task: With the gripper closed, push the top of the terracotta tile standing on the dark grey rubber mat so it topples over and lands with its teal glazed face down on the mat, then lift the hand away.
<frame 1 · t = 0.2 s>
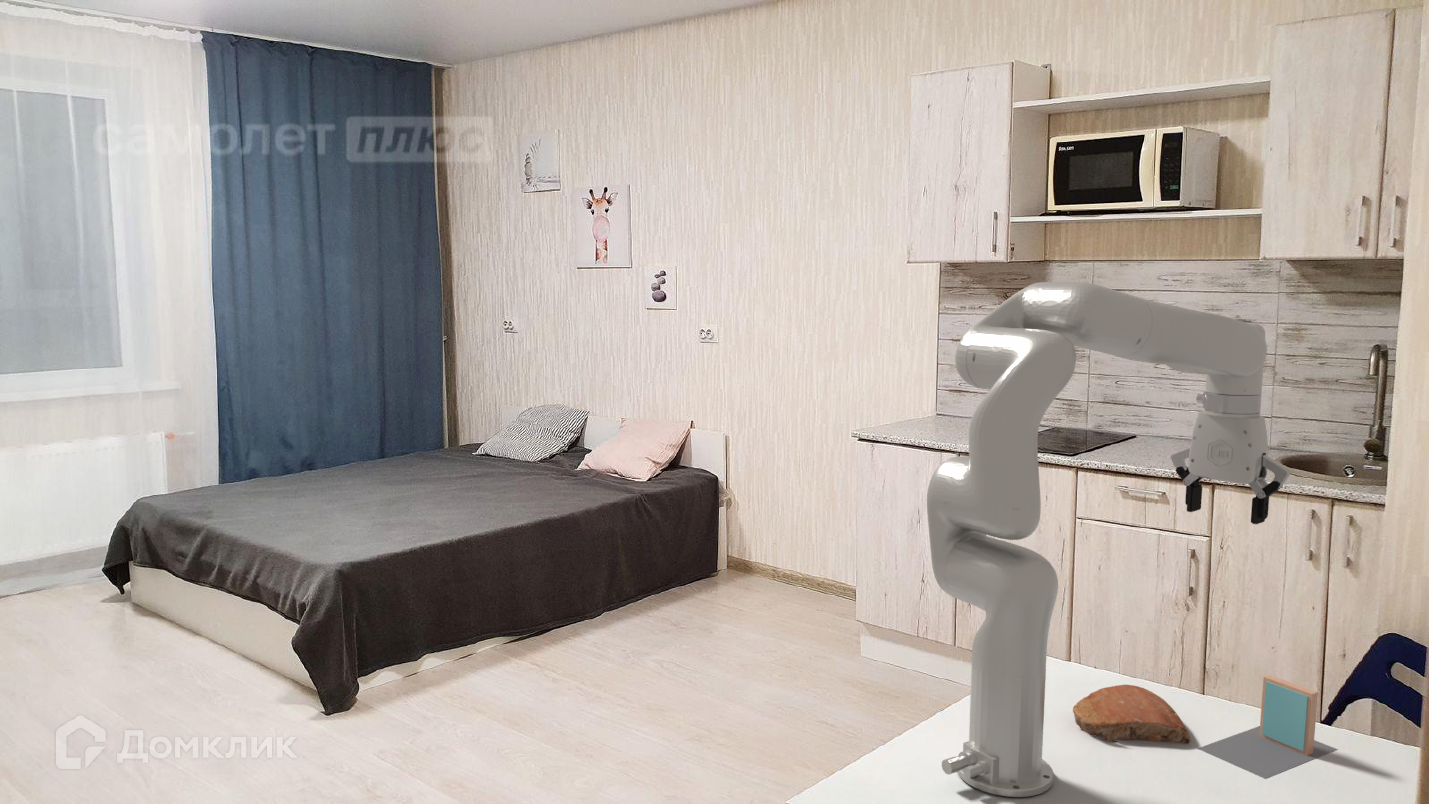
hand: (1225, 516, 155), 30 cm above the table, tool pointing down, fingers open, 9 cm apart
tile: (1285, 744, 146), resting on mat
ceramic shard: (1120, 727, 154), on the table
mat: (1267, 751, 145), on the table
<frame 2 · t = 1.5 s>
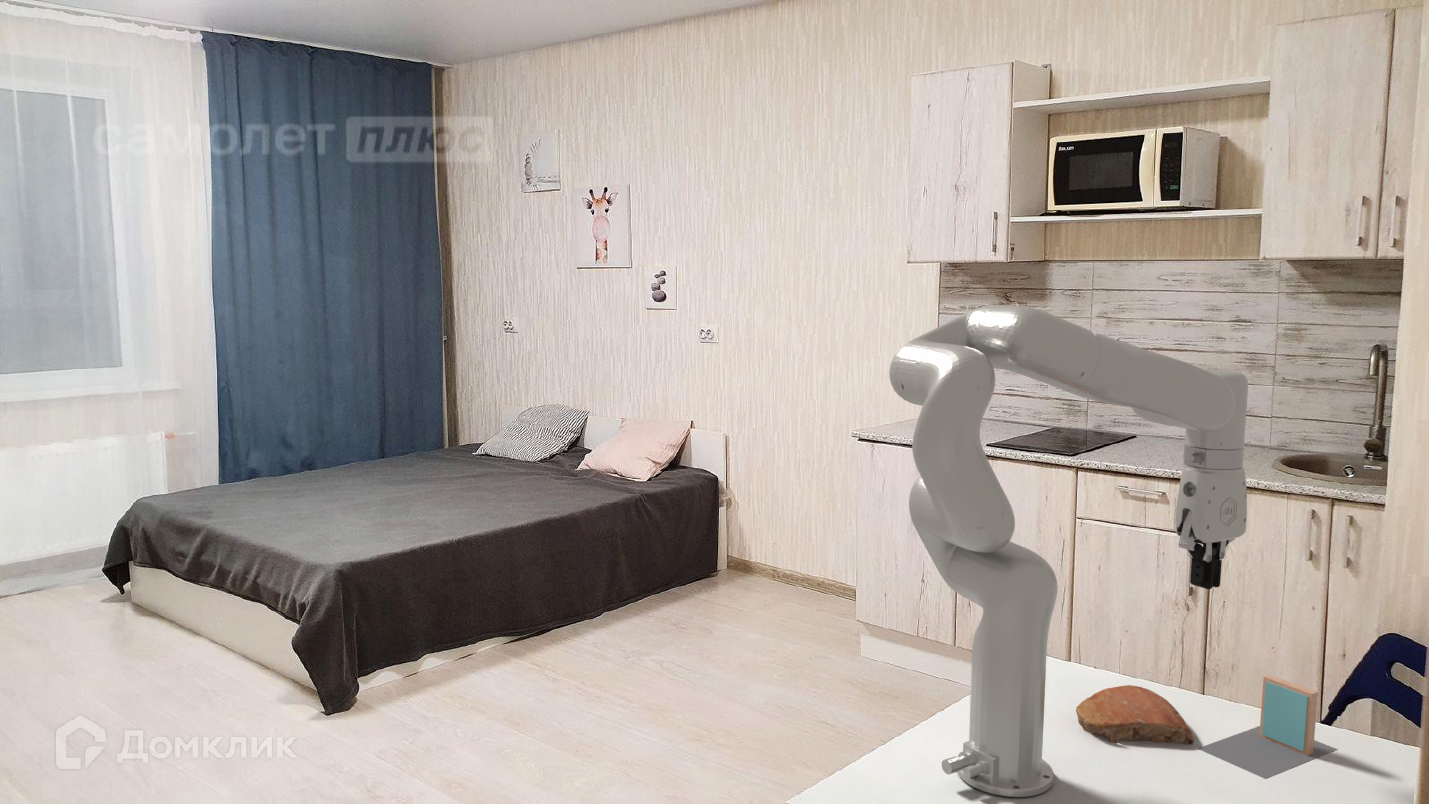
hand: (1204, 585, 146), 23 cm above the table, tool pointing down, fingers closed
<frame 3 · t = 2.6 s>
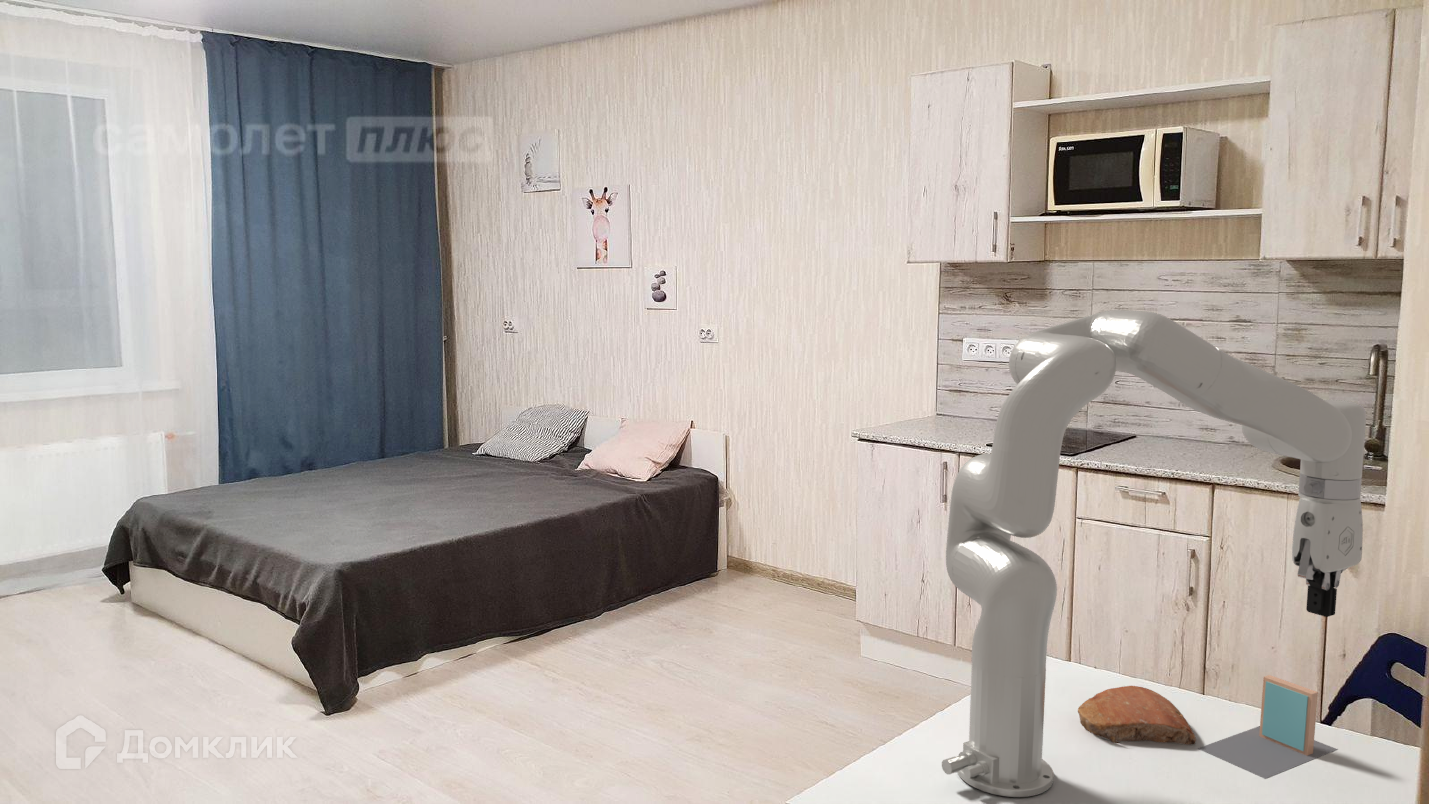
hand: (1320, 613, 147), 19 cm above the table, tool pointing down, fingers closed
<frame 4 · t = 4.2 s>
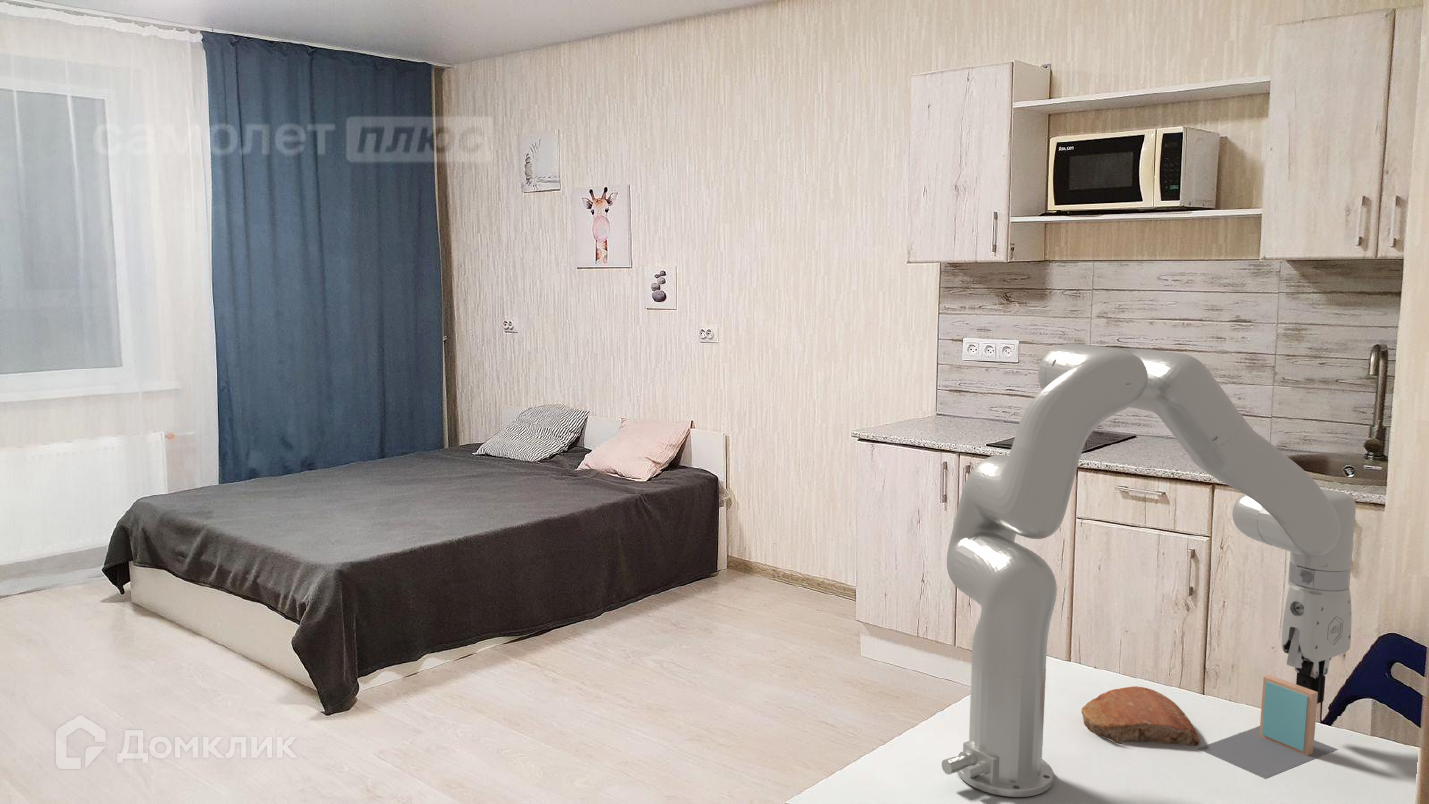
hand: (1309, 699, 148), 6 cm above the table, tool pointing down, fingers closed
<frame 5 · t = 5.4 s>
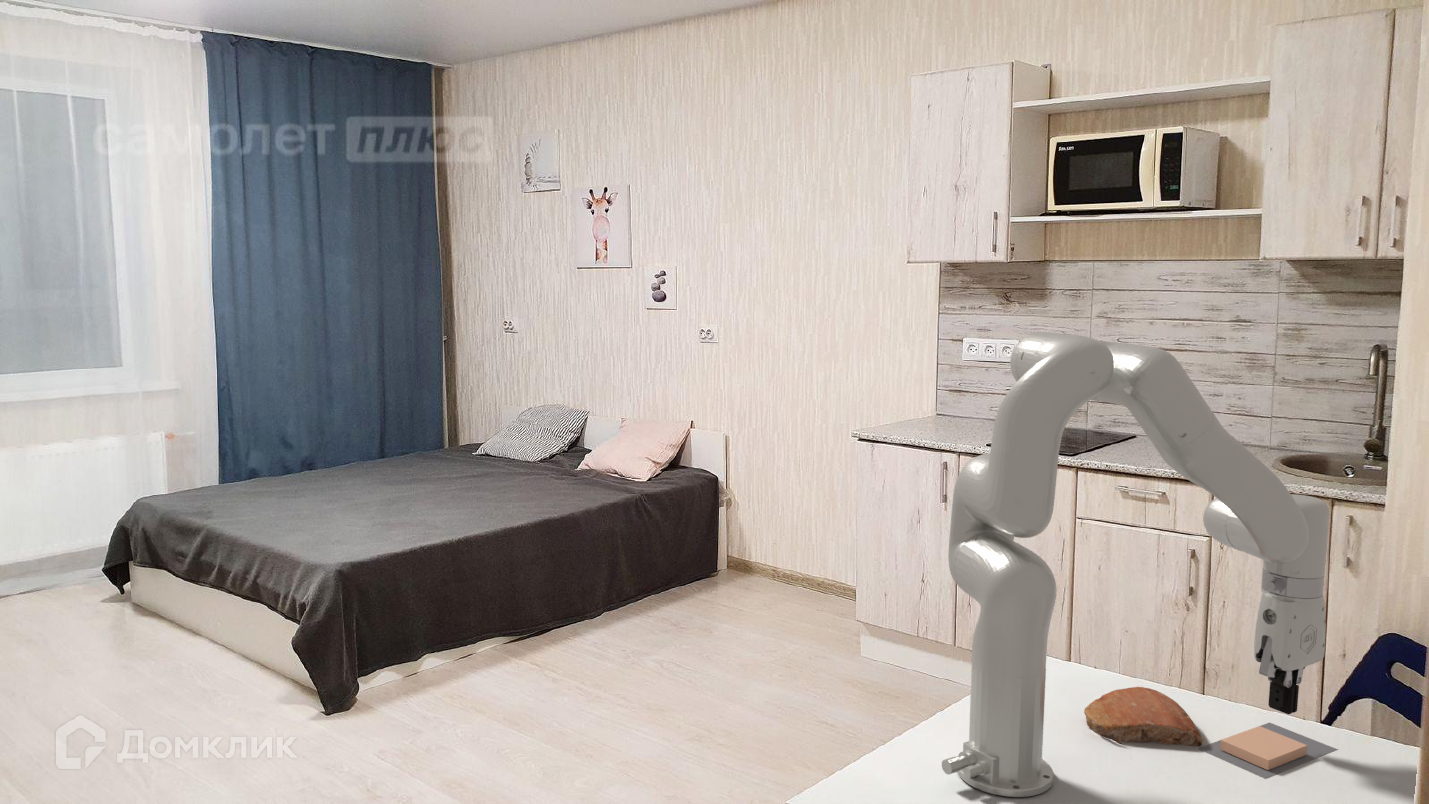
hand: (1282, 709, 145), 6 cm above the table, tool pointing down, fingers closed
tile: (1282, 740, 146), point 1 cm above the table, tilted 90°, touching mat
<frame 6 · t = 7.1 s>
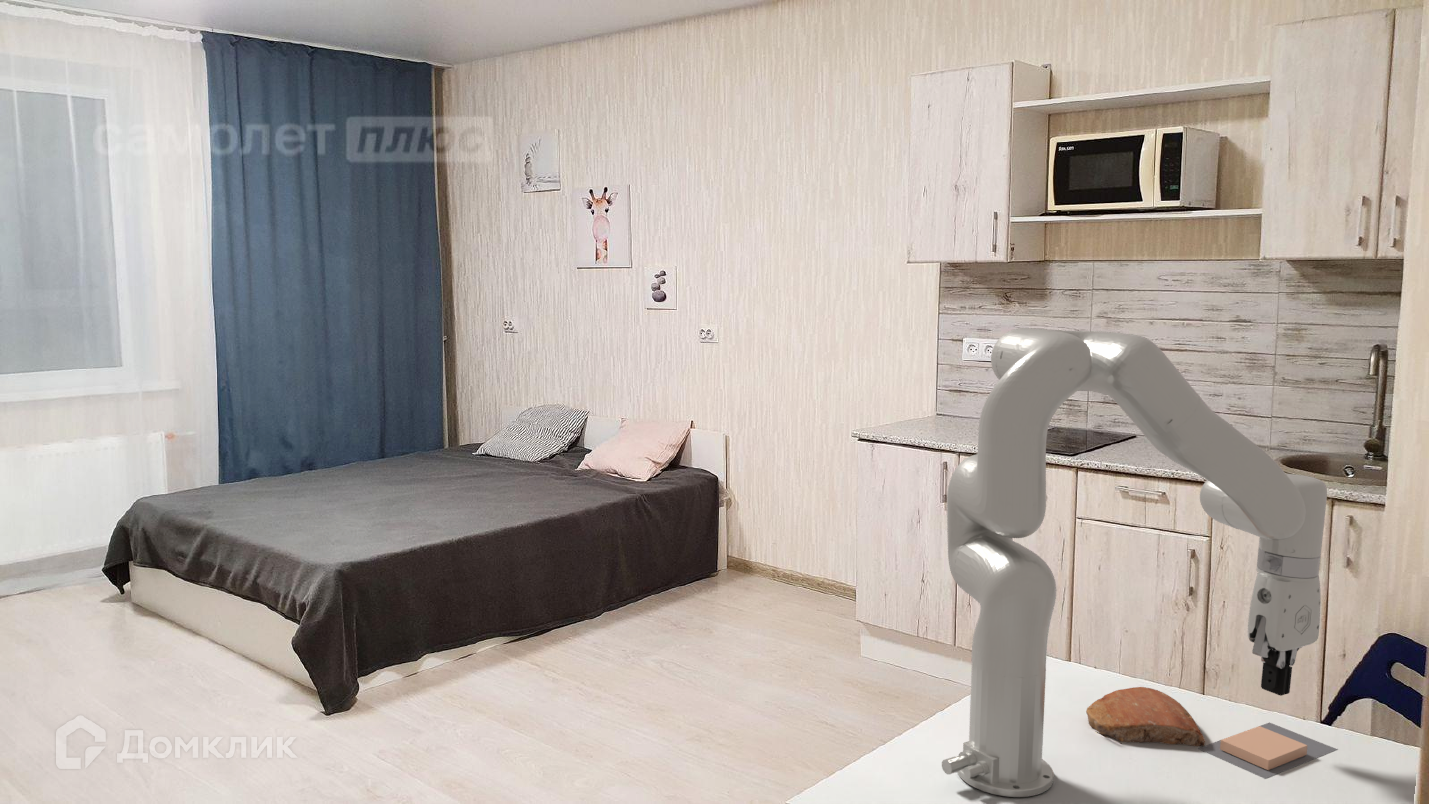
hand: (1274, 691, 144), 9 cm above the table, tool pointing down, fingers closed
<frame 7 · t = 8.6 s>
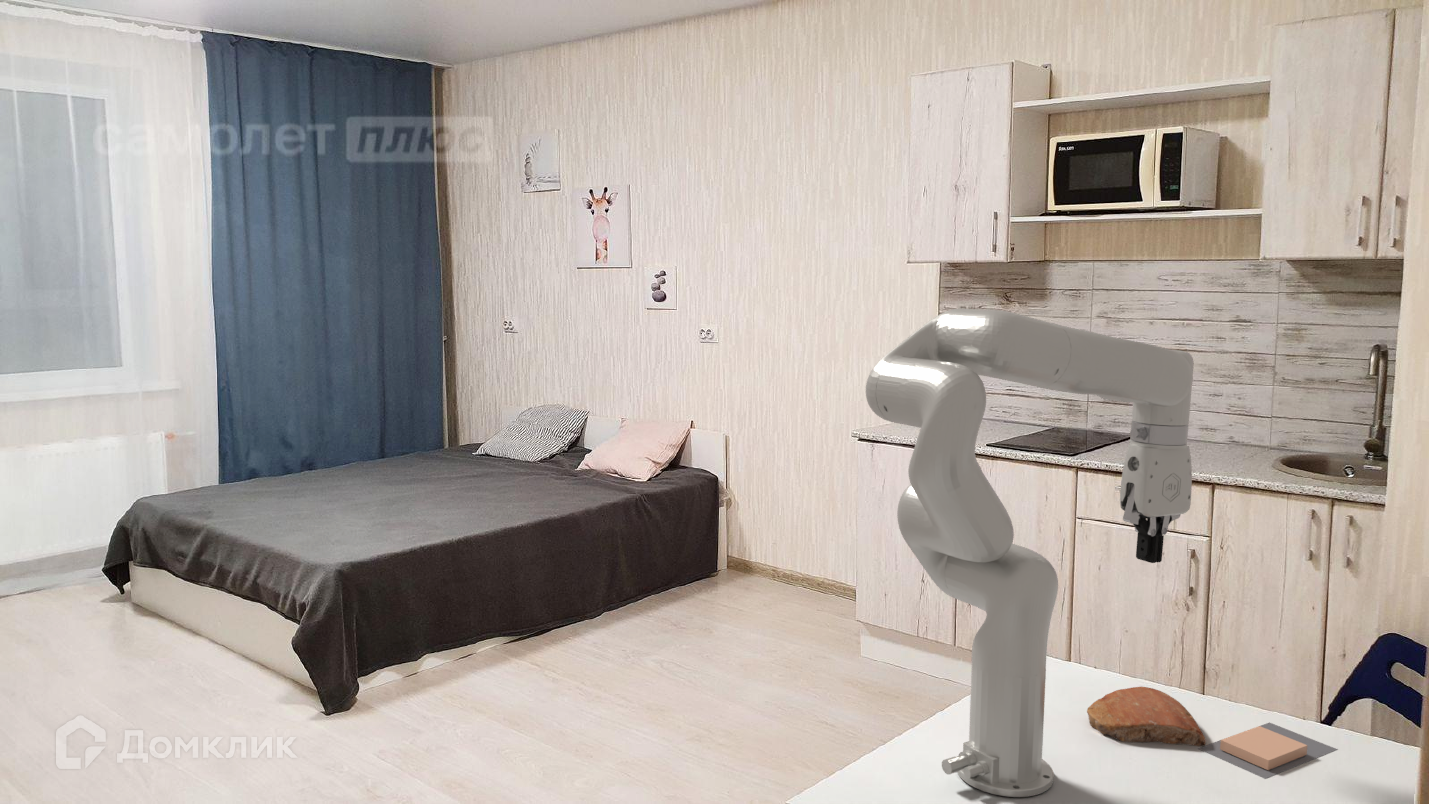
hand: (1148, 560, 149), 26 cm above the table, tool pointing down, fingers closed
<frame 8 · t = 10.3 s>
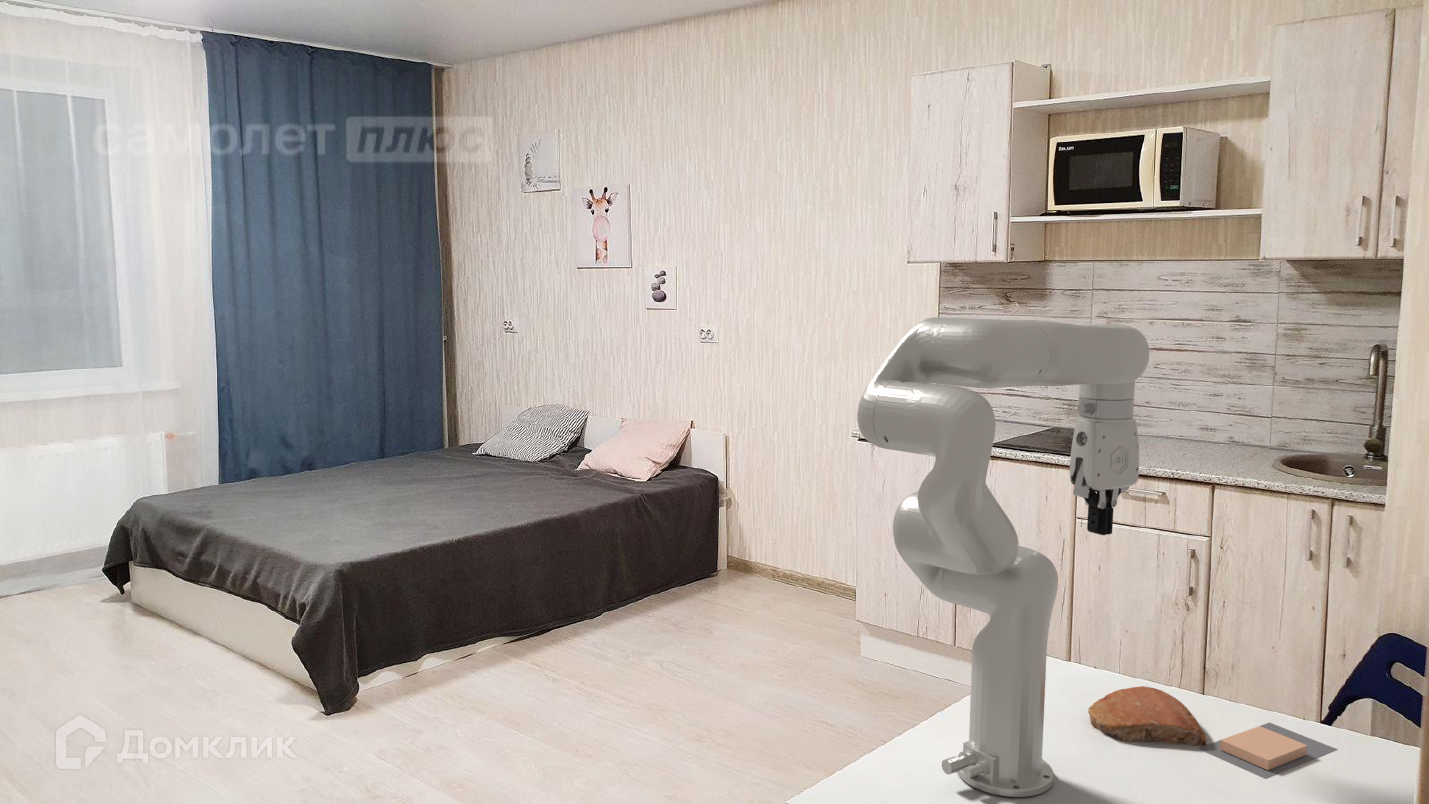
hand: (1099, 532, 151), 29 cm above the table, tool pointing down, fingers closed
at the end: tile tilted 90°; tile point 1.3 cm above the table; tile inside the target area on the mat (2.6 cm from its centre), point 1.3 cm above the mat's base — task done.
